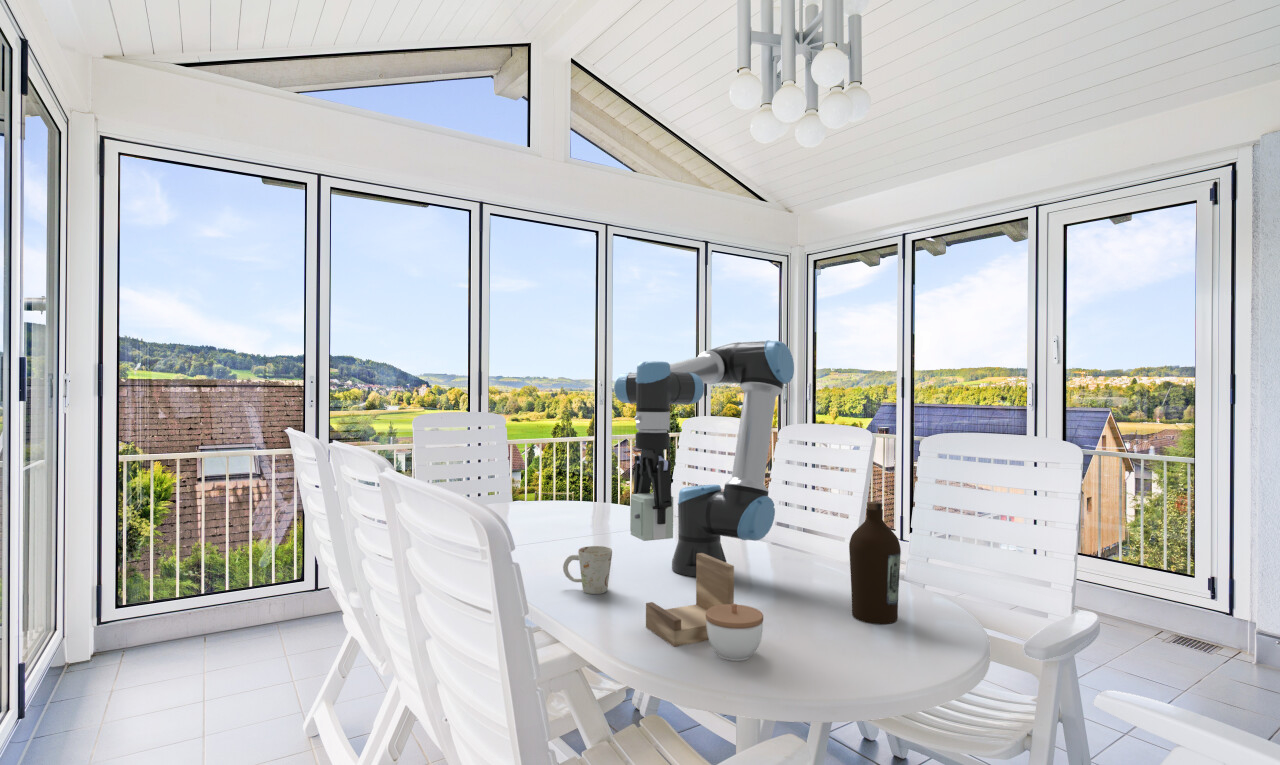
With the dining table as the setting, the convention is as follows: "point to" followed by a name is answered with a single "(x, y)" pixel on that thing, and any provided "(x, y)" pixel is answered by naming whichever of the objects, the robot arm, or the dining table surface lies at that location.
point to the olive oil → (874, 569)
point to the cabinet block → (647, 517)
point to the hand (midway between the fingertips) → (651, 535)
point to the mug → (592, 568)
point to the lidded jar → (734, 630)
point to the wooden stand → (691, 620)
